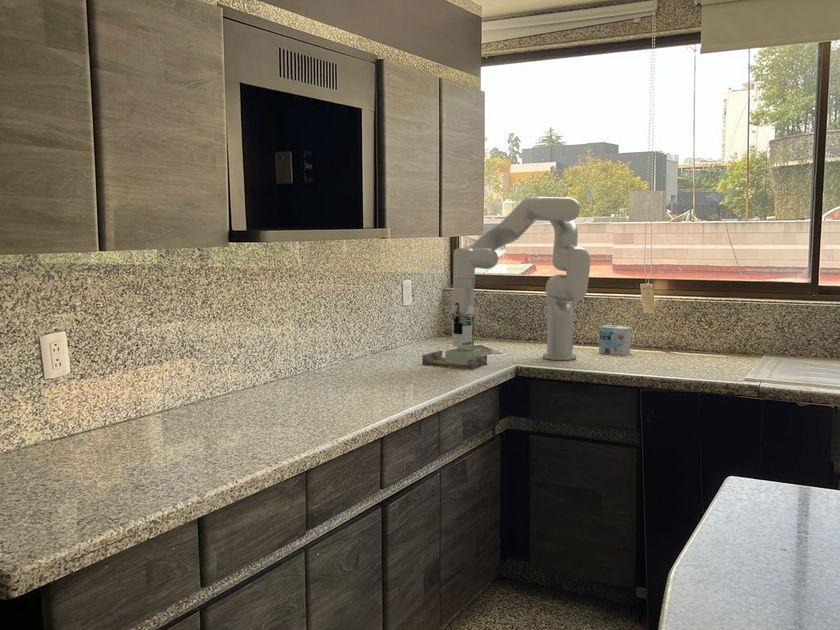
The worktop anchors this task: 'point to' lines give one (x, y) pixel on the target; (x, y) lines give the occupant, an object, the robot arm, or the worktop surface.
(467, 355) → the collar
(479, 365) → the grey brown tray
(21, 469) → the worktop surface
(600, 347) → the light bulb box
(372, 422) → the worktop surface
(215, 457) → the worktop surface
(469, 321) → the syrup box
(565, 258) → the robot arm
